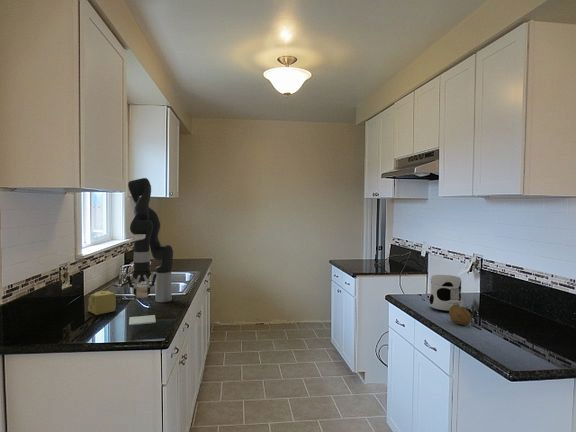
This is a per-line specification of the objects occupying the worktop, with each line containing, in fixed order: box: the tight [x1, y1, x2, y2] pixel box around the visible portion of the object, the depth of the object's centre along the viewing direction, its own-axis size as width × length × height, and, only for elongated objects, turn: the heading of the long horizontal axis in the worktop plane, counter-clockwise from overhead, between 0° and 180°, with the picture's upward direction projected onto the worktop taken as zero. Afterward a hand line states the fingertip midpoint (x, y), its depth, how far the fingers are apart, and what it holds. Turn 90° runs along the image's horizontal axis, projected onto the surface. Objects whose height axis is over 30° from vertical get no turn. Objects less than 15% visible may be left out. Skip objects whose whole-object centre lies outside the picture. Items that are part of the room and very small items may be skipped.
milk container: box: [428, 274, 464, 313], centre depth 216 cm, size 17×17×18 cm
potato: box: [448, 306, 473, 326], centre depth 190 cm, size 10×14×8 cm
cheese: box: [87, 290, 117, 316], centre depth 210 cm, size 10×11×10 cm
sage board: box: [128, 314, 157, 326], centre depth 194 cm, size 12×12×1 cm
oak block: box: [135, 284, 148, 299], centre depth 193 cm, size 5×5×5 cm
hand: (141, 295), depth 193 cm, fingers closed on oak block, 5 cm apart
